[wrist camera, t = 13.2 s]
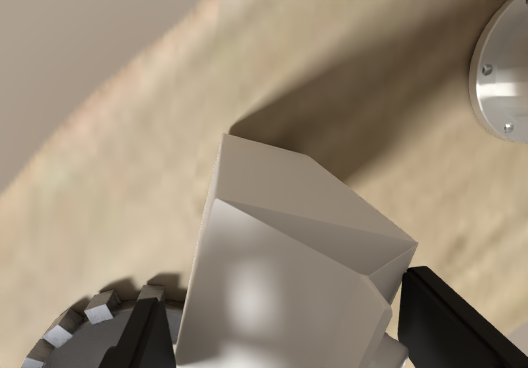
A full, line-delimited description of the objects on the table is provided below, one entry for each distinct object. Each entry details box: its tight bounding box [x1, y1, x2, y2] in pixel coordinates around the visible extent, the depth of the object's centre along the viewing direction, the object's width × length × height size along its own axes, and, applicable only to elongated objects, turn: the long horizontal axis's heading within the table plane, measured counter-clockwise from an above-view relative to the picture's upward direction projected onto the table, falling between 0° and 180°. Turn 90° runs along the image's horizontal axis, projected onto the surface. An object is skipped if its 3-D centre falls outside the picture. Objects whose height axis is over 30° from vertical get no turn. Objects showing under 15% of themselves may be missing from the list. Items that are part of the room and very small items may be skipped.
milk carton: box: [175, 133, 418, 368], centre depth 16 cm, size 7×7×19 cm
